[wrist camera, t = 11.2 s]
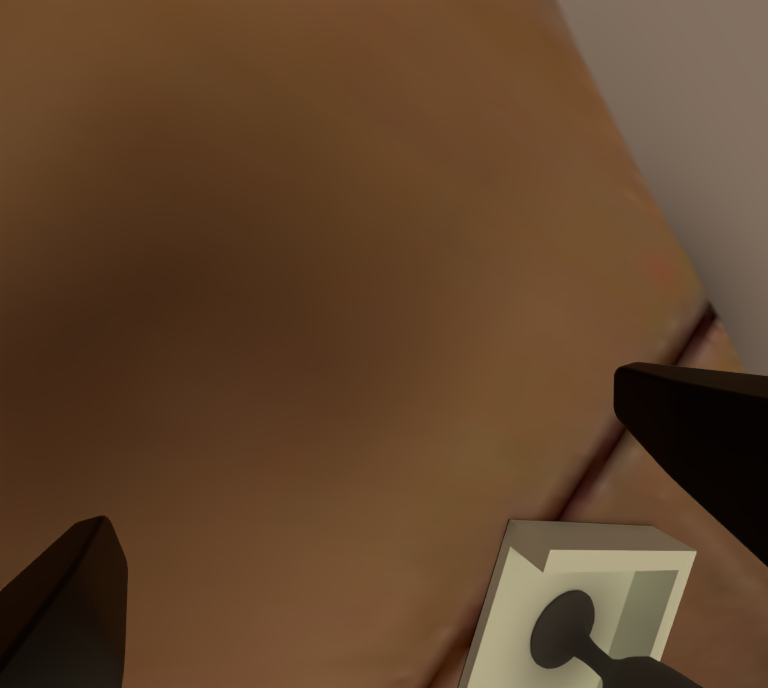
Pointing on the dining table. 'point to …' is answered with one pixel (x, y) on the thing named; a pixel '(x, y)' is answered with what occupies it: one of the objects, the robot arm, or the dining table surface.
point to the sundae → (593, 648)
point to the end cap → (576, 573)
